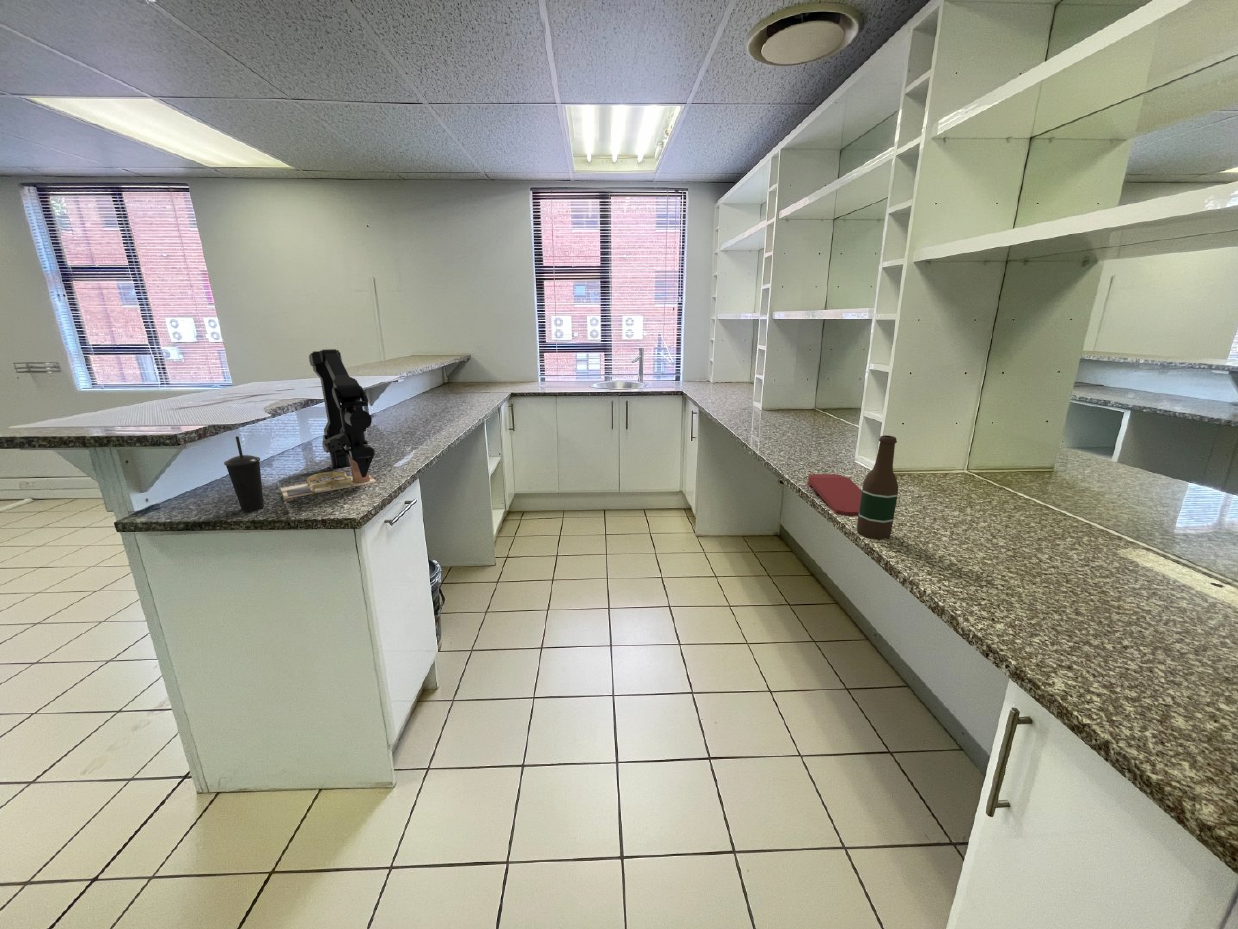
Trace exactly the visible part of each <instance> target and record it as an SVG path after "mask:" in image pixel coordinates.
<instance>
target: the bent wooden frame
mask: <svg viewBox="0 0 1238 929" xmlns="http://www.w3.org/2000/svg"><path fill="white" fill-rule="evenodd" d="M331 476H332V479H336V477H337V476H338V477H344V479H342V480H330V479H328V480H329V481H327V482H325V483H319V484H313V485H312V487H313V489H312V493H313V494H312V495H314V493H315V489H317V488H323V487H327V486H329V485H330V486H331V488H333V484H335V485H340V484H346V483H350V485H351V487H350V488H353V487H354V486H353V482H352V481H351V478H348V479H347V477H348V475H347V472H346V471H341V470H340V471H336V470H333V471H326V472H322V473H321V472H320V473H316V474H312V475H310V476H309V477H306V484H307V485H308V486H310V483H311V482H313V481H315V480H316V481H315V482H319V481H320V479H321V478H327V477H331ZM352 486H353V487H352ZM315 494H316V493H315Z"/></svg>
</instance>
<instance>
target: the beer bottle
mask: <svg viewBox="0 0 1238 929" xmlns="http://www.w3.org/2000/svg"><path fill="white" fill-rule="evenodd" d="M878 441H879V446H878V449H877V455H876V458H875V463H874V466H873V468H872V469H871V470H870V471H869V472H868V473H867V474H866V476H865V478H863V479H864V480H863V484H862V487H861V488H862V489H861V490H862V494H861V501H860V507H859V514H858V515H857V521H856V522H857V524H856V533H857V534H858V535H860V536H862V537H864V538H867V539H871V540H872V539H873V540H879V541H881V540H887V539H888V540H889V539H890V537H891V533H892V530H893V523H894V519H895V513H896V506H897V502H898V501H897V500H898V496H899V483H898V479H897V477H896V475H895V472H894V459H895V458H894V457H895V449H896V448H895V447H896V444H897V443H898V442H897V437H895V436H894V435H887V434H886V435H880V437H879V439H878Z"/></svg>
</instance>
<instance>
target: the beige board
mask: <svg viewBox="0 0 1238 929" xmlns="http://www.w3.org/2000/svg"><path fill="white" fill-rule="evenodd" d="M348 478H351V481H352V482H353V486H352V487H351V485H350V483H346V484H340V485H335V484H333V488H331V486H330V485H329V486H327V487H323V488H317V489H315V493H314V494H319V493H326V492H331V491H336V490H341V489H347V488H353V487H358V486H364V485H369V484H374V483H378V481H377V480H375V478H373V477H372V475H370V474H369V478H370V481H367V482H362V483H355V482H354V481H353V478H352V475H347V479H348ZM342 479H344V476H341V477H337V478H336V477H335V479H333V478H332V479H327V480H325V479H324V480H319V482H317V481H314V482H313V481H312V482H310V486H308V485H307V483H302V484H295V485H291V486H290V485H289V486H285V487H284V486H283V487H280V489H279V490H280V492H282V493H281V494H282V497H283V499H284V501H285V503H287V502H289V499H291V498H298V497H303V496H308V495H314V494H313V493H312V489H313V487H312V485H313V484H319V483H325V482H327V481H329V480H342Z"/></svg>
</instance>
